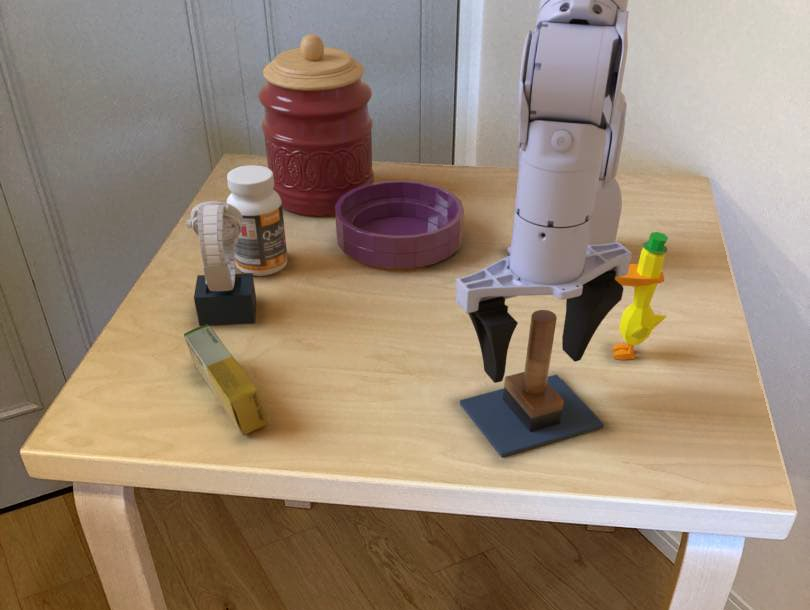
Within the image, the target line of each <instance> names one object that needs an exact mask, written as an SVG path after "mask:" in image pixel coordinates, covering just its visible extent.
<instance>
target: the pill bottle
mask: <svg viewBox="0 0 810 610" xmlns="http://www.w3.org/2000/svg"><path fill="white" fill-rule="evenodd" d="M226 180H227V187H228V189H229V191H230V192H231V193H230V194H229V196H228V197H227V199H226V203H228V204H230V205H232V206H234V207H235V208H237V209H238V210H239V211H240V212H241V214H242V219H243V221H242V230H241V232H240V235H239V239H238V244H237V245H234V251H235V267H236V268H237V269H238V270H239V271H240V272H241V273H253V277H254V276H256V277H258V276H259V277H262V276H269V275H273V274H276V273H278V272H280V271H282V270H283V269H285V267H286V265H287V264H288V249H287V240H286V239H287V237H286V231H285V220H284V219H285V218H284V208H282V202H281V198H280V196H279V195H278V193H277V192H276V191H274V190H273V188H274V177H273V172H272V171H271V170H270V169H269V168H268V167H266V166H263V165H257V164H256V165H255V164H253V165H252V164H250V165H249V164H248V165H241V166H238V167H235V168H233V169H231V170H229V172H228V173H227V175H226Z"/></svg>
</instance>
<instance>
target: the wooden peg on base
mask: <svg viewBox="0 0 810 610" xmlns="http://www.w3.org/2000/svg"><path fill="white" fill-rule="evenodd" d="M557 318H558V317H557V315H556V314H555V313H554V312H553V311H551V310H547V309H538V310H535V311H533V312H532V314H531V315H530V324H529V332H528V339H527V348H526V357H525V362H524V363H525V365H524V371H521V372H517V373H514V374H510V375H506V376H504V384H503V389H504V393H503V401H504V402H505V403H506V404H507V405H508V406H509V408H510V409H511V410H512V411H513V412H514V414H515V415H516V416H517V417H518V418H519V420H520V421H521V422H522V423H523V424H524V425H525V427H526V428H527V429H528V430H529V431H530V432H532V431H536V430H539V429H543V428H546V427H550V426H553V425H556V424H560V421H561V415H562V409H563V404H564V400H563V399H562V398H561V397H560V396H559V394H558V393H557V392H556V391H555V390H554V389H553V388H552V387H551V386H550V385H549V384H548V383H547V379H548V377H549V372H550V366H551V359H552V351H553V344H554V338H555V331H556V325H557Z"/></svg>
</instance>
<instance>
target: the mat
mask: <svg viewBox="0 0 810 610" xmlns="http://www.w3.org/2000/svg"><path fill="white" fill-rule="evenodd" d="M547 383H548V384H549V385H550V386H551V387H552V388H553V389H554V390H555V391H556V392H557V393H558V394H559V396H560V397H561V398H562V399H563V400H564V404H563V409H562V415H561V421H560V424H556V425H553V426H550V427H546V428H543V429H539V430H536V431H532V432H530V431H529V430H528V429H527V428H526V427H525V425H524V424H523V423H522V422H521V421H520V420H519V418H518V417H517V416H516V415H515V414H514V412H513V411H512V410H511V409H510V408H509V406H508V405H507V404H506V403H505V402H504V401H503V393H504V388H501V389H497V390H493V391H489V392H485V393H482V394H478V395H473V396H470V397H467V398H463V399H460V400H459V405H460V406H461V407H462V409H463V410H464V411H465V412H466V414H467V415H468V416H469V417H470V419H471V420H472V421H473V423H474V424H475V425H476V426H477V428H478V429H479V430H480V432H481V433H482V434H483V435H484V437H485V438H486V440H487V441H488V442H489V443H490V444H491V446H492V447H493V448H494V449H495V451H496V452H497V453H498V455H499V456H500V457H501V458H504V457H507V456H511V455H514V454H518V453H521V452H524V451H528V450H531V449H534V448H535V449H536V448H539V447H541V446H545V445H548V444H553V443H555V442H559V441H562V440H566V439H569V438H572V437H575V436H576V437H577V436H580V435H582V434H586V433H589V432H592V431H595V430H599V429H603V428H604V426H605V424H604V422H603V421H602V420H601V419H600V418H599V417H598V416H597V415H596V414H595V413H594V412H593V410H591V409H590V408H589V406H588V405H587V404H586V403H585V402H584V401H583V400H582V399H581V398H580V397H579V396H578V395H577V394H576V392H574V391H573V389H571V387H569V386H568V384H567V383H566V382H565V381H564V380H563V379H562V378H561V377H560V376H559V375H558V374H557V373H555V374H553V375H548V379H547Z"/></svg>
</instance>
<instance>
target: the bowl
mask: <svg viewBox="0 0 810 610" xmlns="http://www.w3.org/2000/svg"><path fill="white" fill-rule="evenodd" d="M464 215H465V209H464V206H463V202H462V200H461V198H459V197H458V196H456V194H455V193H454V192H452V191H450V190H448V189H445V188H444V187H442V186H439V185H436V184H432V183H427V182H424V181H416V180H405V179H397V180H382V181H376V182H375V181H374V183H370V184H365V185H363V186H360V187H357V188H355V189H352V190H350V191H349V192H347V193H346V194H344V195H343V196H341V197H340V199H339V200H338V202H337V203H336V205H335V216H334V217H335V229H336V230H335V231H336V232H335V233H336V243H337V246H338V248H339V249H340V250H341V251H342V253H343V254H344V255H346V256H348V257H350V258H351V259H353V260H354V261H356V262H359V263H362V264H365V265H368V266H371V267H372V266H373V267H376V268H384V269H385V268H386V269H394V270H395V269H413V268H414V269H416V268H420V267H425V266H431V265H434V264H437V263H439V262H442V261H443V260H446V259H448V258H450V257H451V256H452V255H453V254H455V253H456V252H457V251H458V250H459V249H460V247H461V243H462V241H463V236H464V235H463V232H464V217H465V216H464Z"/></svg>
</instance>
